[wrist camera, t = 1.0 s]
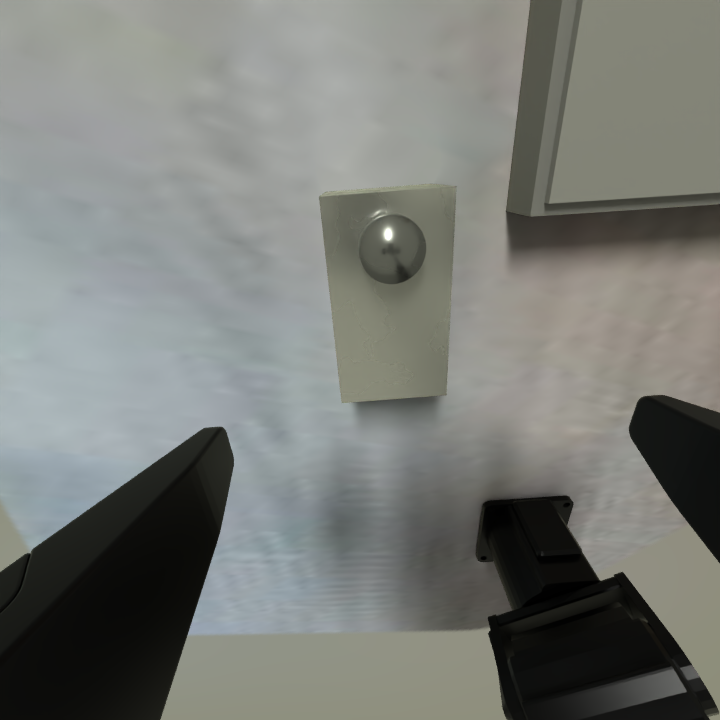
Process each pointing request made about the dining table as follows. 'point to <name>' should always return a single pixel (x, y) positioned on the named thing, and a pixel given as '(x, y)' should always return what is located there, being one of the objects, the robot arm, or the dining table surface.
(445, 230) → the block
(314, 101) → the dining table surface
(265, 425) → the dining table surface
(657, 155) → the stand
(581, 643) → the robot arm
